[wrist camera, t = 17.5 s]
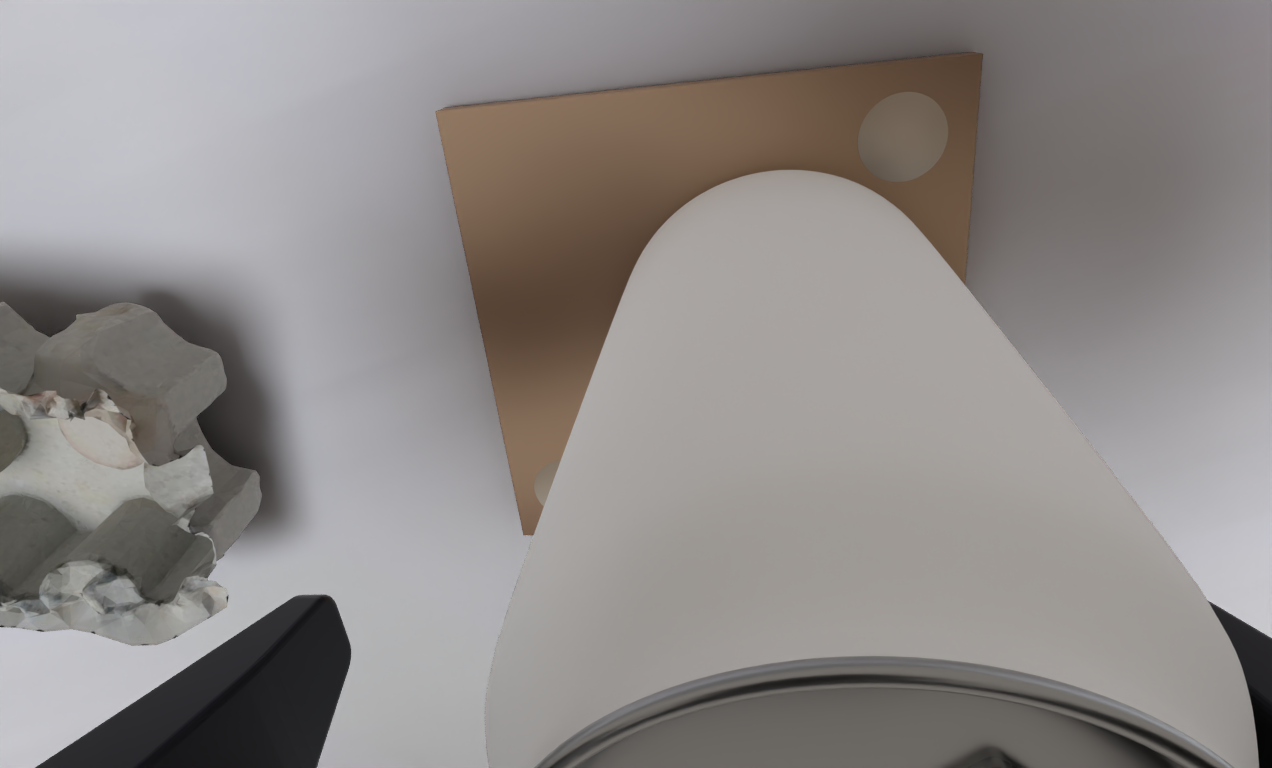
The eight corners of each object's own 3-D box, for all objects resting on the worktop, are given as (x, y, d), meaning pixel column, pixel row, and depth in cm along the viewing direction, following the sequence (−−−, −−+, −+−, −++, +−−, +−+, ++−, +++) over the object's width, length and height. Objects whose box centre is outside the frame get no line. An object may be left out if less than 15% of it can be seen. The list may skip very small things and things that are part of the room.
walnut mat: (939, 508, 18) (946, 524, 18) (528, 520, 20) (523, 535, 19) (972, 51, 14) (982, 54, 14) (446, 107, 16) (435, 111, 15)
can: (562, 329, 17) (261, 920, 6) (779, 88, 14) (920, 379, 3) (778, 506, 18) (843, 1240, 7) (1012, 315, 15) (1632, 1027, 5)
